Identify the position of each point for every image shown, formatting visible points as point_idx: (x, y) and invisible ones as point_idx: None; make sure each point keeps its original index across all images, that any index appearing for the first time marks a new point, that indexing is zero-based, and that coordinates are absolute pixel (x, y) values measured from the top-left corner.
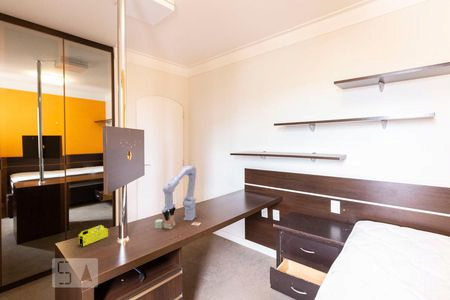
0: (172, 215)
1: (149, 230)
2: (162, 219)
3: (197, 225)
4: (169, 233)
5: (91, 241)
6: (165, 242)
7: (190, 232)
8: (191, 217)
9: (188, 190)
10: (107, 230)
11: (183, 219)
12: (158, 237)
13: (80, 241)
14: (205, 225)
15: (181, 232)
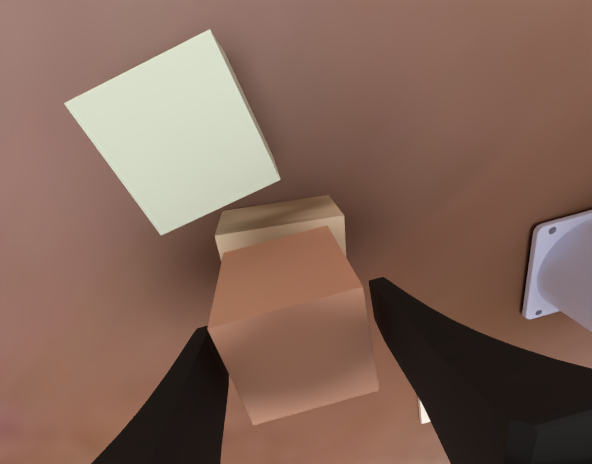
0: (365, 375)
1: (8, 97)
2: (268, 156)
3: (419, 415)
4: (157, 366)
5: None
6: (17, 455)
7: (281, 454)
8: (567, 315)
9: None
10: None
11: (534, 233)
12: (12, 357)
13: None
14: (439, 444)
15: (242, 417)
